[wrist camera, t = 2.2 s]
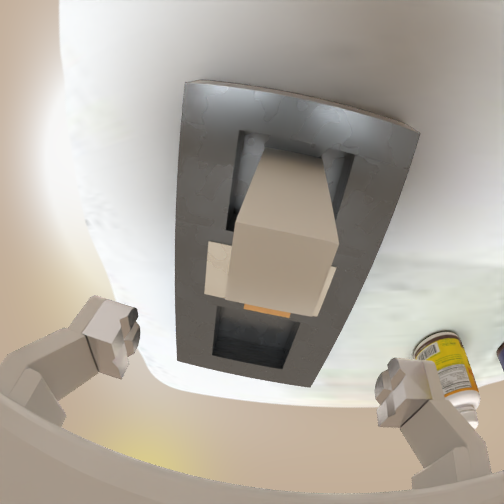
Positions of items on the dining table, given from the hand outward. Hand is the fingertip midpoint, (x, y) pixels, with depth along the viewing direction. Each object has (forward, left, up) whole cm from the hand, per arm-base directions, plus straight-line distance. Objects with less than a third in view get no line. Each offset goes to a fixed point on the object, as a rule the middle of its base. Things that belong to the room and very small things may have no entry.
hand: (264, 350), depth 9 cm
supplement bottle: (+13, +19, -14) cm, 27 cm away
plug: (-1, 0, -13) cm, 13 cm away
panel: (+6, 0, -14) cm, 15 cm away
